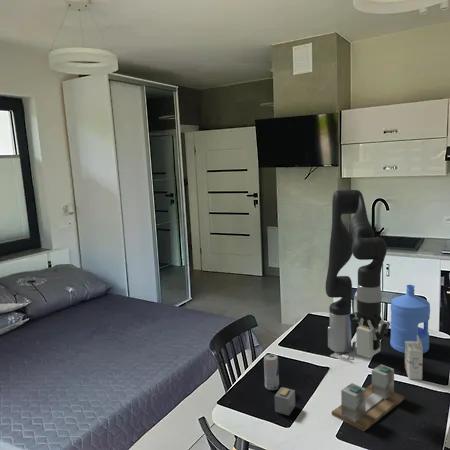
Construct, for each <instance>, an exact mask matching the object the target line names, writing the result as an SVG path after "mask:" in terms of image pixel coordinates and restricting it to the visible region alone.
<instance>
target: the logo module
mask: <svg viewBox="0 0 450 450" xmlns="http://www.w3.org/2000/svg"><path fill="white" fill-rule="evenodd" d="M379 328H380V331H381V324H379ZM375 329H377V327H376V328H374V330H375ZM373 340H374V338H373V333H372V330H371V329H370V327H368V326H365V325H363V326H362V327H361V326H359V327H357V332H356V341H357V342H356V355H359V356H362V357H365V358H368V359H370V358H371V357H373V355H374V356H375V355H376V354H378V353H380V352H381V349H382V348H381V347H382V346H381V345H382V344H381V343H382V340H380V347H379V348H378V349H377V350H376V351H375V350H373Z"/></svg>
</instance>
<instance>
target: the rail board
mask: <svg viewBox="0 0 450 450" xmlns="http://www.w3.org/2000/svg"><path fill="white" fill-rule="evenodd" d="M340 392H341V393H340V395H341V401H340V402H341V404H340V405H339V406H338V407H336V408H335V409H333V410H332V411H331V416H333V417H335V418H337V419H339V420H341V421H342V422H345V423H347V424H349V425H350V426H353V427H354V428H356V429H358V430H360V431H362V432H365V431H367V429H369V428H370V427H372V426H373V425H374V424H375V423H376V422H378V421H379V420H380V419H381V418H382V417H384V416H386V415H387V413H389V412H390V411H391V410H393V409H394V408H396V406H398V405H399V404H401V403H402V402H403V401H404V400H405V396H404V395H401V394H400V393H398V392H395V368H392V367H390V366H387V365H384V364H379V365H377V366H376V367H374V368H373V369H372V370H371V384H369V385H368V386H367V387H362V386H360V385H357V384H355V383H350V384H348V385H346V386H345V387H344V388H342V389H341V391H340Z"/></svg>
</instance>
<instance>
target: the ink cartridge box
mask: <svg viewBox="0 0 450 450" xmlns="http://www.w3.org/2000/svg"><path fill="white" fill-rule="evenodd" d="M419 342H420V343H419ZM423 355H424V353H423V350H422V342H421V341H420V339H419V337H418V335H417V342H413V341H405V353H404V370H405V373H406V375H407V377H408V379H409V380H419V381H421V380H423V358H424V357H423Z"/></svg>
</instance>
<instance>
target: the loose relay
mask: <svg viewBox="0 0 450 450" xmlns="http://www.w3.org/2000/svg"><path fill="white" fill-rule="evenodd" d="M273 398H274V412H275V413H278V414H282V415H286V416H290V415H291V413H292V412H293V410H294V409H295V408H296V390H295V389H290V388H288V387H283V386H281V387H280V388H278V390H277V392H276V393H275V395H274V397H273Z"/></svg>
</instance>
